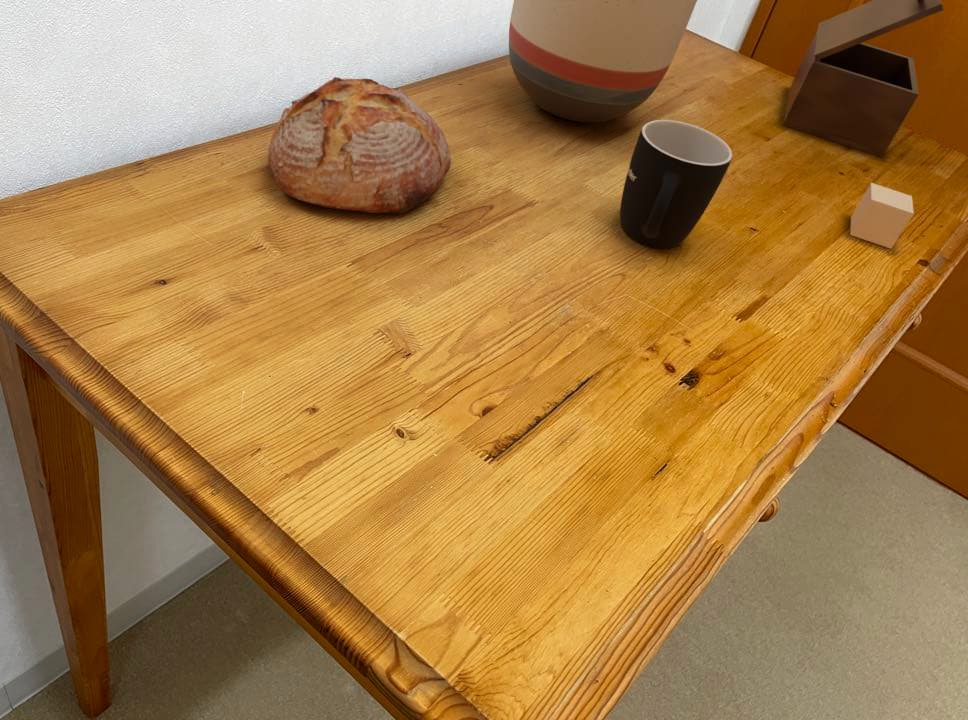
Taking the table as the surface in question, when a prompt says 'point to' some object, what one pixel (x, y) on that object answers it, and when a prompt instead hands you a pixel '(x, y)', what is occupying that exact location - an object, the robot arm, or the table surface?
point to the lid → (869, 23)
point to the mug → (671, 181)
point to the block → (881, 215)
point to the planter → (594, 52)
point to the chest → (852, 96)
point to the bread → (358, 149)
